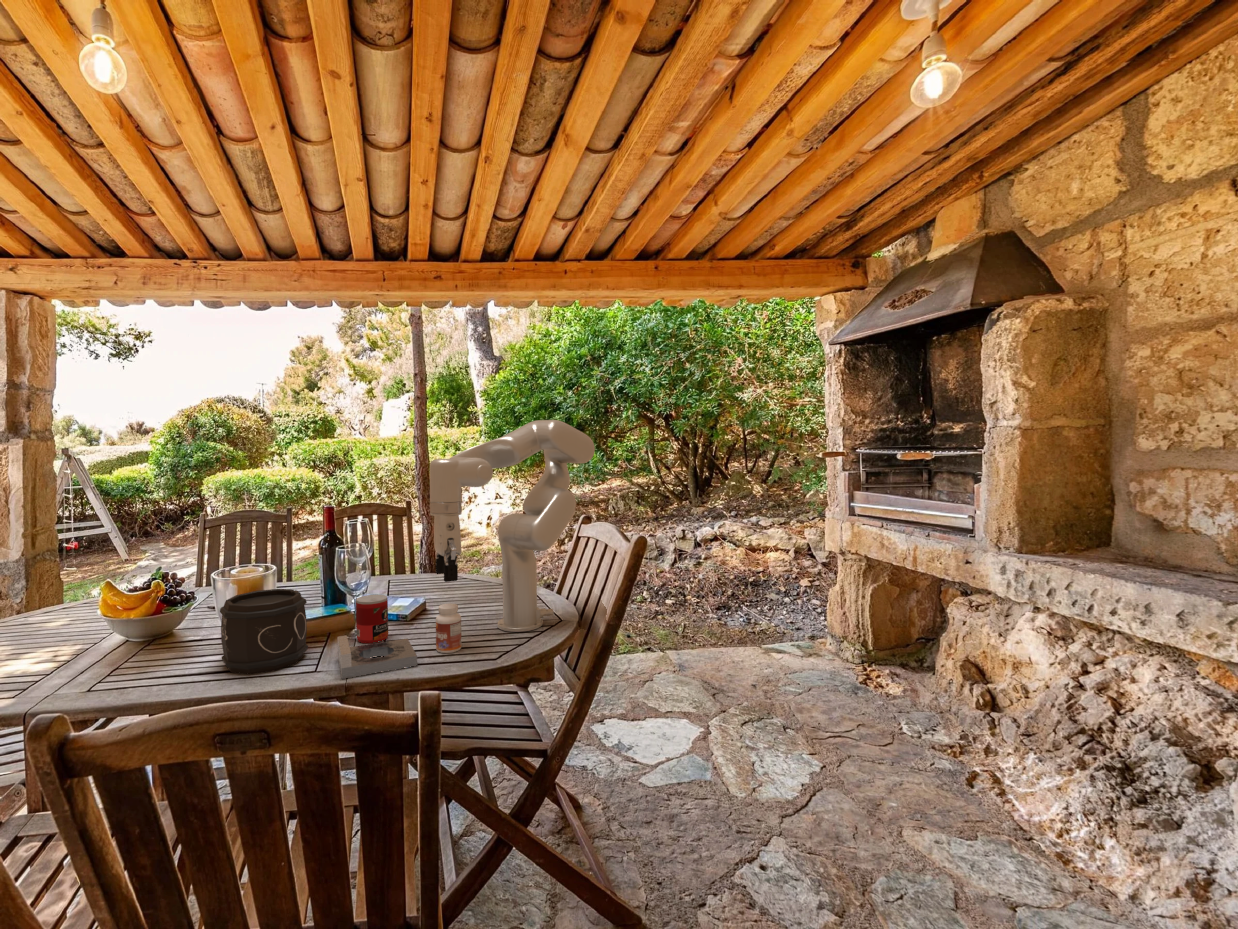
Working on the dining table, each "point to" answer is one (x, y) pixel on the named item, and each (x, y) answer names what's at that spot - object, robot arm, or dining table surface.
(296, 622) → the chalk-marked storage tub
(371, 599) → the canned food
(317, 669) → the dining table surface
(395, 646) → the jig
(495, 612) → the dining table surface
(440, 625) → the pill bottle
